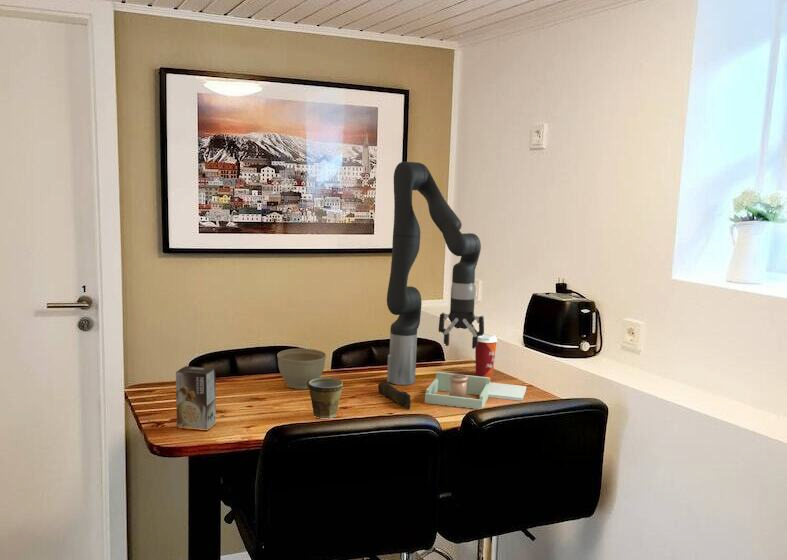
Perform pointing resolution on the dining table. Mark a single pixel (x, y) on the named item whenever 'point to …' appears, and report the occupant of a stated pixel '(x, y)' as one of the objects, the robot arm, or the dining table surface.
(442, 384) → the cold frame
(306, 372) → the planter bowl
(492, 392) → the pale green square plate
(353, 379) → the dining table surface
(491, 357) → the coffee cup
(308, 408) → the dining table surface
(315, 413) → the ceramic cup
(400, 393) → the hand tool
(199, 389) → the coffee box
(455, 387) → the lidded jar
